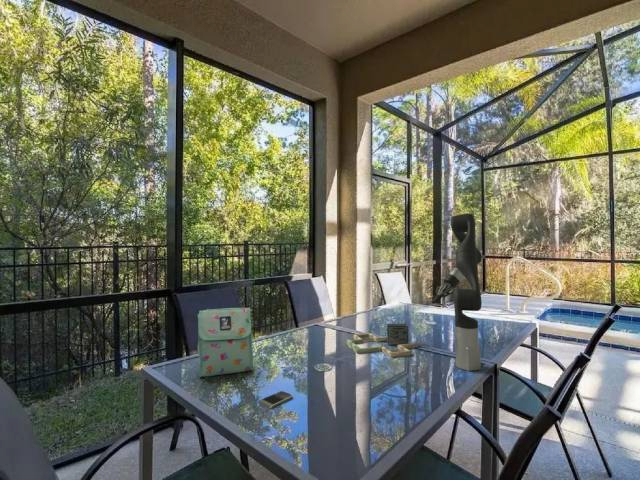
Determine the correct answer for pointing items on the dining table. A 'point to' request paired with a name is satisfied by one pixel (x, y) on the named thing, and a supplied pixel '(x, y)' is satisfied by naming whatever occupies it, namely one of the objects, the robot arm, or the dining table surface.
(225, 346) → the lunch bag
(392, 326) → the small box
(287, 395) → the cell phone
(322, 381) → the dining table surface
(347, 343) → the trap course
